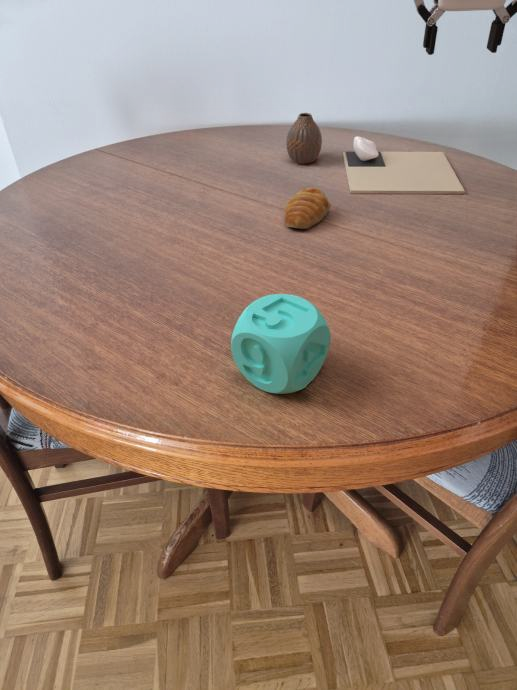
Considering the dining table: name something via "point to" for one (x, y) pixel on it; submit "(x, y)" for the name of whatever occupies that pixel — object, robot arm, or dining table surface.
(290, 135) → the vase
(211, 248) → the dining table surface
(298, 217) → the pastry
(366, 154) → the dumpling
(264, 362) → the decorative dice
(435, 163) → the mat
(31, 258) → the dining table surface
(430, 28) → the robot arm
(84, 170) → the dining table surface
